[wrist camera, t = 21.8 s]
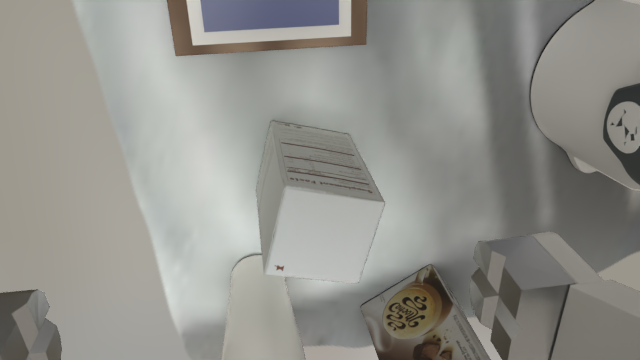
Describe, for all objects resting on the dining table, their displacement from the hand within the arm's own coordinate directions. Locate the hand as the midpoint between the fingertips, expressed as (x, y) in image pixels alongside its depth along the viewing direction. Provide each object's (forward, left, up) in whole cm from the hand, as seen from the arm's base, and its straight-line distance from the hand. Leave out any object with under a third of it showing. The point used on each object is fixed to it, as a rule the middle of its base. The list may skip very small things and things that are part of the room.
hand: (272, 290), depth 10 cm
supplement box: (-4, +14, -34) cm, 37 cm away
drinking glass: (+1, +26, -34) cm, 43 cm away
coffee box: (-15, +32, -34) cm, 49 cm away
